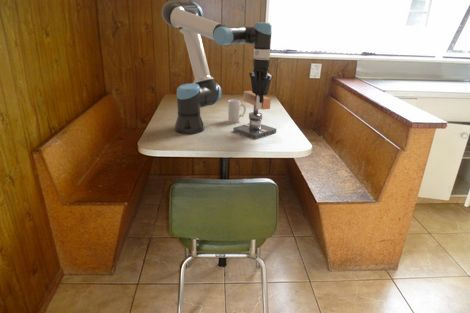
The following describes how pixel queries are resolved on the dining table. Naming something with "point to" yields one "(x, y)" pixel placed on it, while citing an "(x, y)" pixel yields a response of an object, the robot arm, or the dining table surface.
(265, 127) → the base
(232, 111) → the mug
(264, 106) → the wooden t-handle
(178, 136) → the dining table surface
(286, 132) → the dining table surface
